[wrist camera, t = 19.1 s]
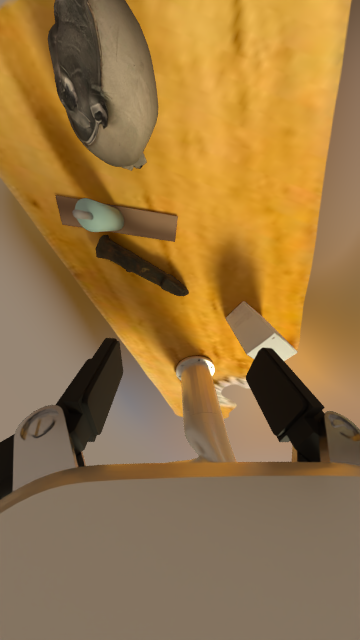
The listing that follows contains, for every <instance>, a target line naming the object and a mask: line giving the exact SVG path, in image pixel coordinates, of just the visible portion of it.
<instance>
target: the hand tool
mask: <svg viewBox="0 0 360 640" xmlns="http://www.w3.org/2000/svg"><path fill="white" fill-rule="evenodd" d="M96 254H97V257H98V258H105V259H108V260H110V261H112V262H114V263H116V264H118V265H120V266H121V267H123V268H124V269H126V271H127V272H133V273H135V274H137V275H139V276H141V277H143V278H145V279H147V280H149V281H151V282H153V283H155V284H157V285H159V286H160V287H161V288H162V289H163V290H165V291H168V292H170V293H172V294H174V295H177V296H185V295H187V294H188V293H189V292H188V290H187V288H186V287H185V286H184V285H183V284H182V283H181V282H180V281H178V280H177V279H176V278H174V277H173V276H172V275H170V274H167V273H165V272H164V271H162V270H160V269H159V268H157V267H155V266H154V265H152V264H151V263H149V262H147V261H145V260H143V259H142V258H140V257H139V256H137V255H136V254H134V253H133V252H131V251H129V250H127V249H125V248H123V247H121V246H120V245H118V244H116V243H115V242H113V241H112V240H111V239H110V238H109V236H108V235H103V236H102V237H101V238H100V239H99V242H98V245H97V247H96Z"/></svg>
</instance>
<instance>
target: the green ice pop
mask: <svg viewBox="0 0 360 640" xmlns="http://www.w3.org/2000/svg"><path fill="white" fill-rule="evenodd" d="M72 213H73V216H74V217H75V218H77V220H78V222H79V223H80V224H81V226H82V227H84V228H85V229H86V230H88V231H91V232H103V231H118V230H121V229H122V227H123V225H124V218H123V215H122V213H121V212H120V211H119V210H118V209H116V208H114V207H111V206H108V205H105V204H102V203H100V202H97V201H94V200H91V199H88V198H83V199H80V200H79V201H78V202H77V203H76V206H75V209H74V210H73V212H72Z"/></svg>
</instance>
